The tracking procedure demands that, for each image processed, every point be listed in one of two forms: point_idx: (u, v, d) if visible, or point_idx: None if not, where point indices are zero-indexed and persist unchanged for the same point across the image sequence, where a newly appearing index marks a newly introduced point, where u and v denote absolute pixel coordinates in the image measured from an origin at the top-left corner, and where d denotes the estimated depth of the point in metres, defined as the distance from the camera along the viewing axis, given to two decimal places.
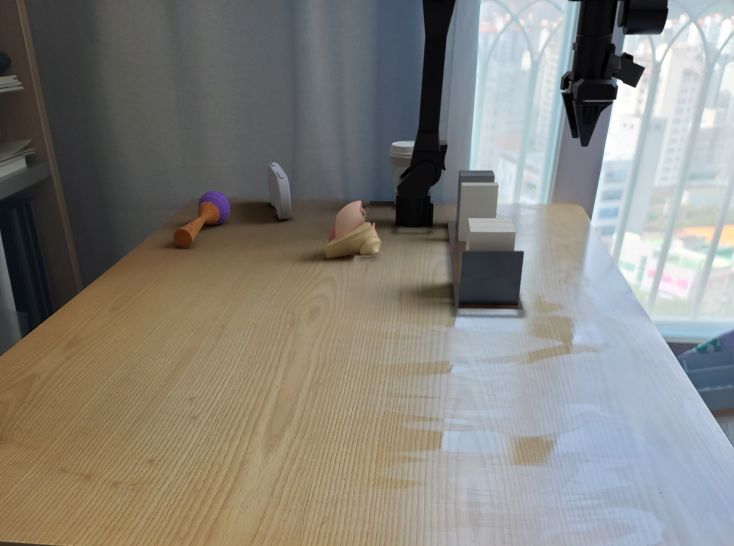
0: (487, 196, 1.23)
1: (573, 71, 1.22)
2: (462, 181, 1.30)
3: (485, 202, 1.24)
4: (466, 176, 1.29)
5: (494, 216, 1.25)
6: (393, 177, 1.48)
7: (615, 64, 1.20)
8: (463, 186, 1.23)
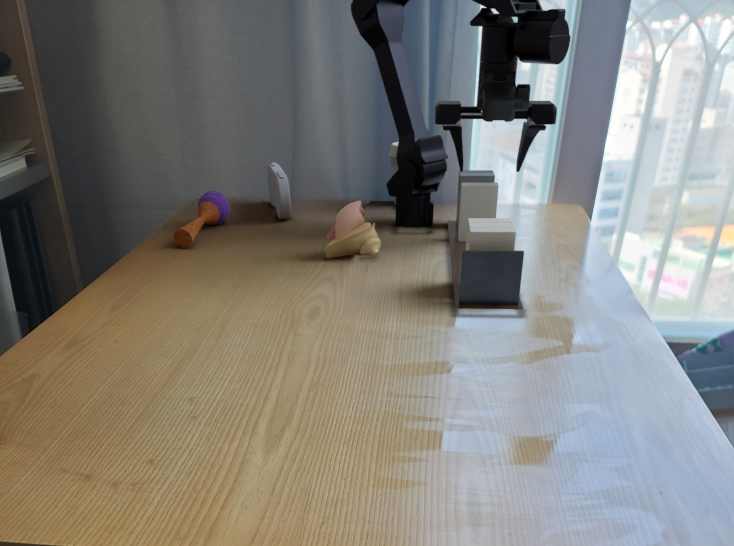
0: (487, 196, 1.23)
1: None
2: (462, 181, 1.30)
3: (485, 202, 1.24)
4: (466, 176, 1.29)
5: (494, 216, 1.25)
6: None
7: (481, 93, 1.14)
8: (463, 186, 1.23)
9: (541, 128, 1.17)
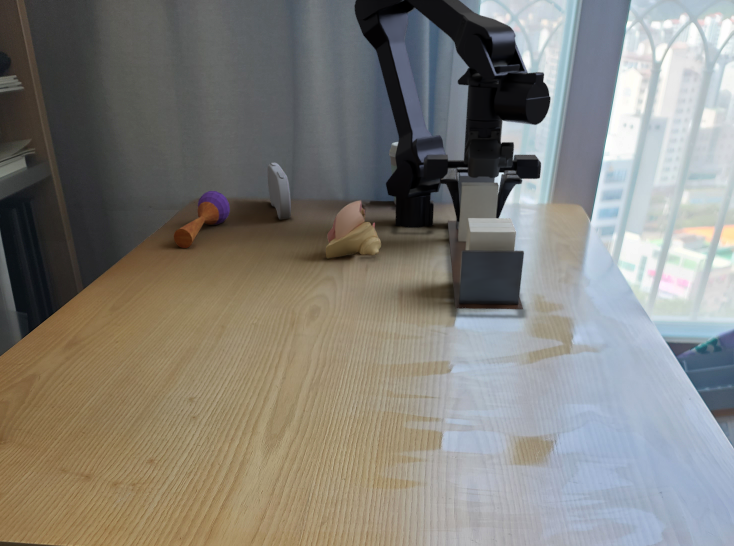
0: (487, 196, 1.23)
1: None
2: (462, 181, 1.30)
3: (485, 202, 1.24)
4: (466, 176, 1.29)
5: (494, 216, 1.25)
6: None
7: (467, 149, 1.17)
8: (463, 186, 1.23)
9: (517, 182, 1.20)
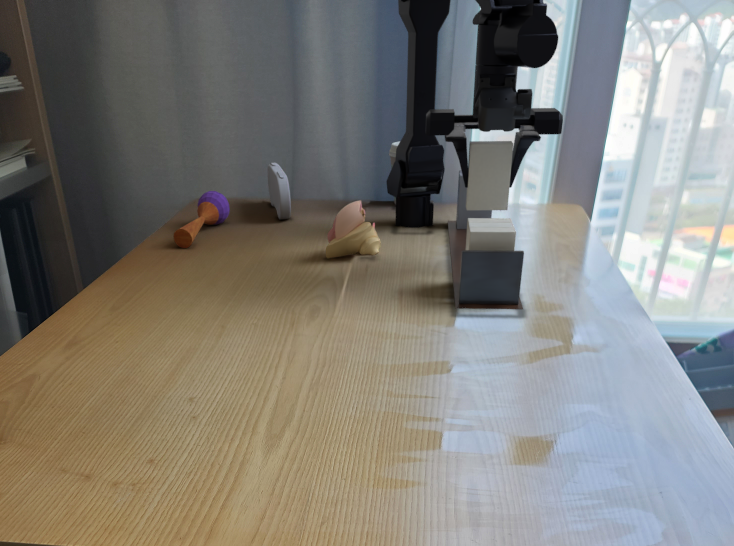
0: (500, 157, 1.07)
1: None
2: (462, 181, 1.30)
3: (498, 163, 1.07)
4: None
5: (508, 180, 1.08)
6: None
7: (477, 99, 1.01)
8: (472, 145, 1.06)
9: (535, 139, 1.03)
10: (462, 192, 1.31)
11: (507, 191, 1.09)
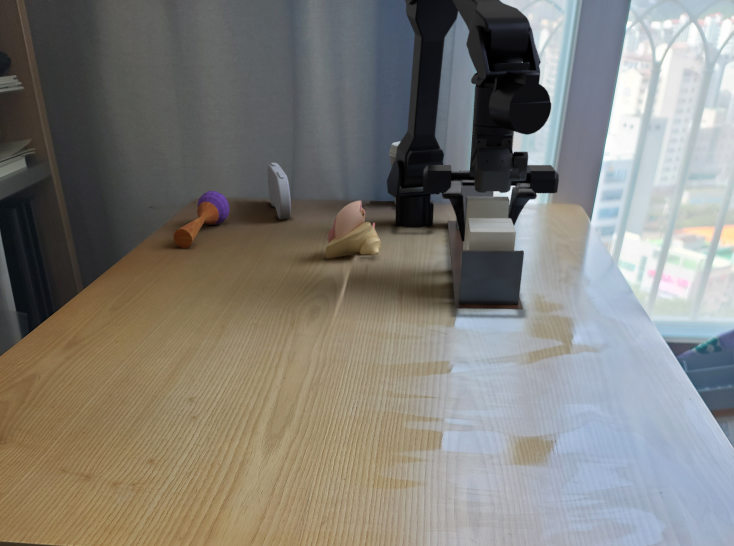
0: (497, 213, 1.07)
1: None
2: None
3: None
4: None
5: None
6: None
7: (474, 159, 1.02)
8: (469, 201, 1.07)
9: (531, 197, 1.04)
10: None
11: None
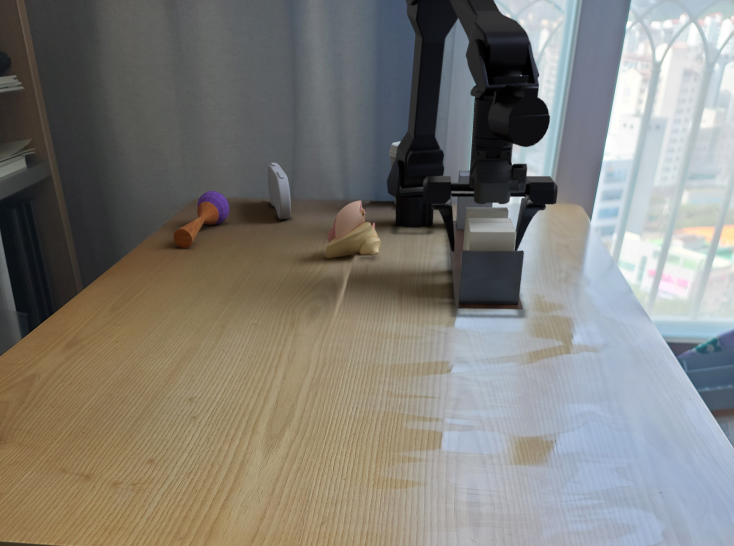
0: None
1: None
2: (462, 181, 1.30)
3: None
4: (466, 176, 1.29)
5: None
6: None
7: (473, 171, 1.02)
8: (468, 212, 1.08)
9: (540, 208, 1.05)
10: None
11: None
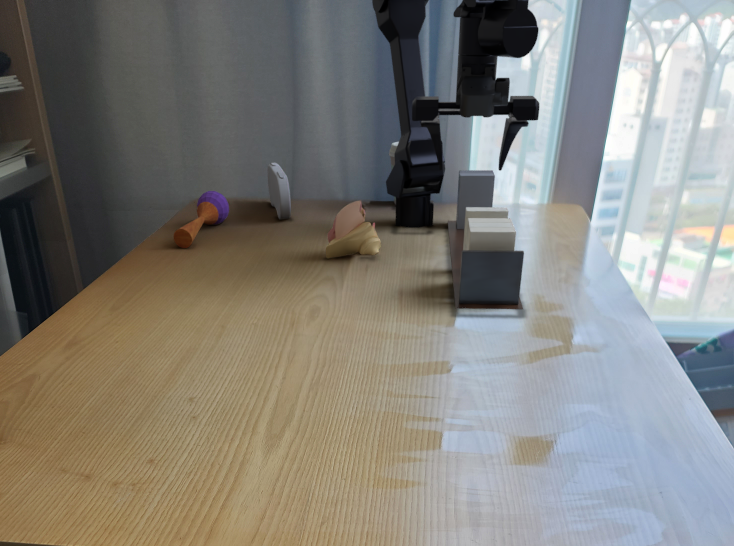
0: None
1: None
2: (462, 181, 1.30)
3: None
4: (466, 176, 1.29)
5: None
6: None
7: (459, 87, 1.08)
8: (468, 212, 1.08)
9: (523, 124, 1.11)
10: (462, 192, 1.31)
11: None
